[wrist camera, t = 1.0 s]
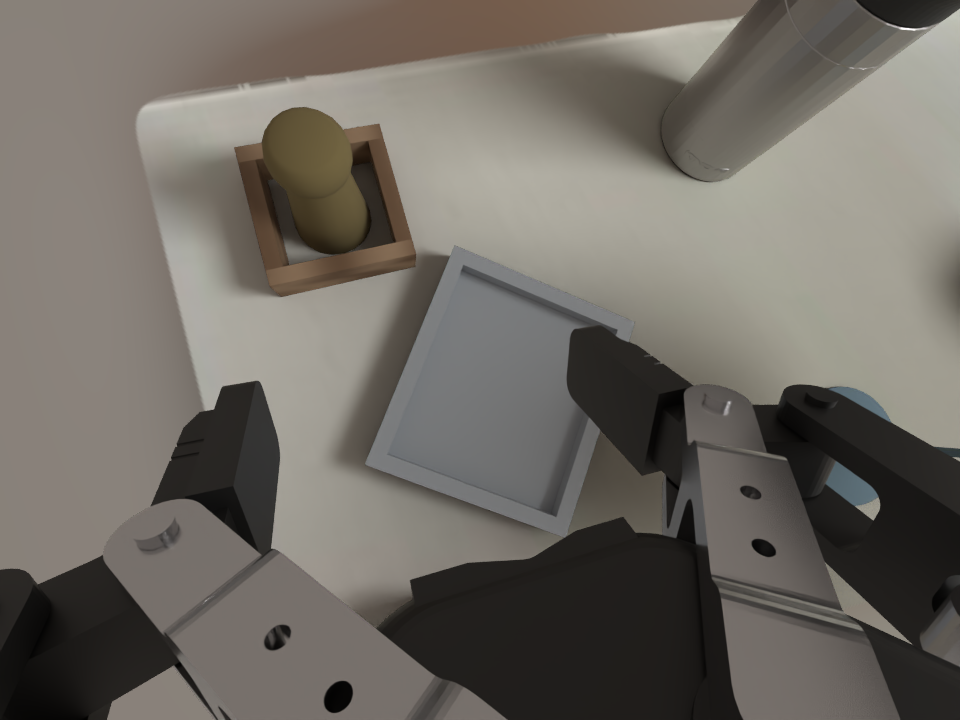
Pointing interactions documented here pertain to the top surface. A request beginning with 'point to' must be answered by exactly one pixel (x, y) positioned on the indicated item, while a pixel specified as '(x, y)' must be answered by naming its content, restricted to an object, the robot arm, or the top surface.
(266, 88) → the top surface
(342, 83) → the top surface
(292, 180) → the cork
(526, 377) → the grey tray
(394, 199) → the walnut holder
